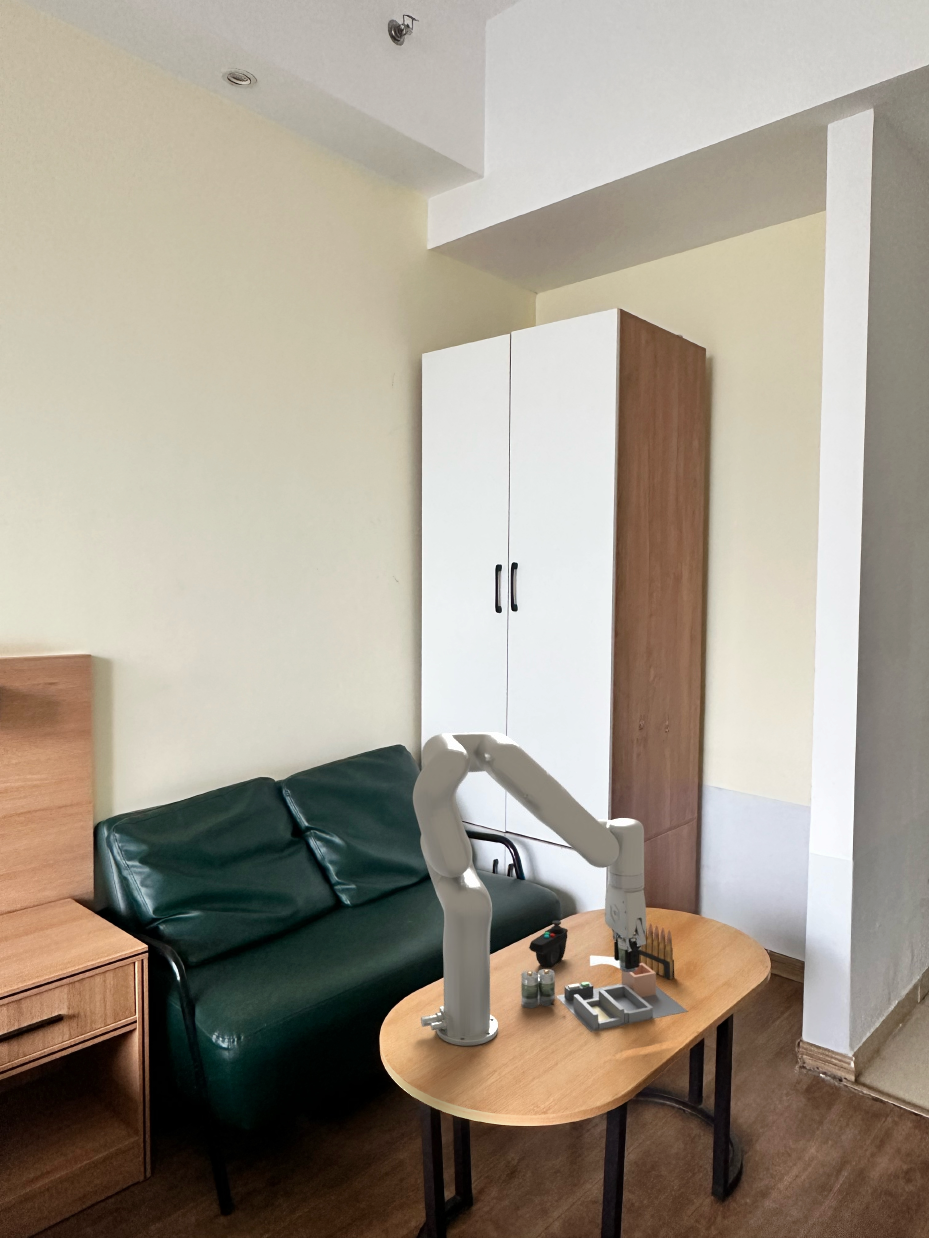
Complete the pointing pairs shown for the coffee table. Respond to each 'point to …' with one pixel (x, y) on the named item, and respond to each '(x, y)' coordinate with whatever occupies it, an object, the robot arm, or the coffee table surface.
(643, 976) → the pink hollow box
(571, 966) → the coffee table surface
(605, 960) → the external hard drive
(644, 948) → the ammunition clip
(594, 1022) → the board
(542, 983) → the cell
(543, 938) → the controller
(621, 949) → the cell
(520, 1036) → the coffee table surface
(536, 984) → the cell
